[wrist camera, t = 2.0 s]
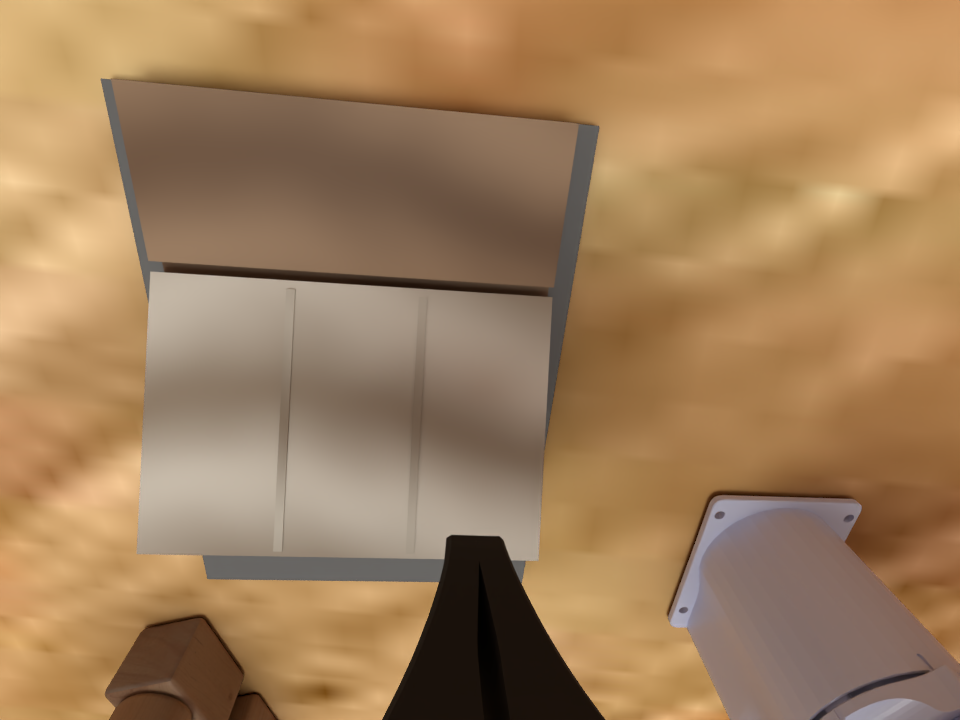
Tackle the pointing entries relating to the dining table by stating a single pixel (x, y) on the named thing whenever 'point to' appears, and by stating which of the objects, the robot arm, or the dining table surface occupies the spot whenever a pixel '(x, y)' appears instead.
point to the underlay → (560, 303)
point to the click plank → (340, 419)
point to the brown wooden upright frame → (181, 678)
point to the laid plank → (345, 190)
